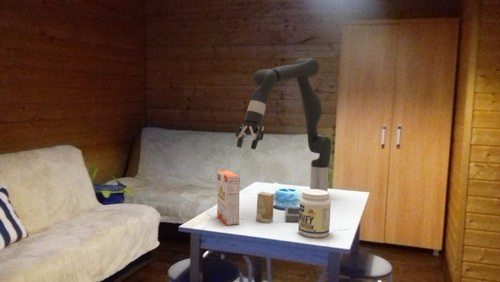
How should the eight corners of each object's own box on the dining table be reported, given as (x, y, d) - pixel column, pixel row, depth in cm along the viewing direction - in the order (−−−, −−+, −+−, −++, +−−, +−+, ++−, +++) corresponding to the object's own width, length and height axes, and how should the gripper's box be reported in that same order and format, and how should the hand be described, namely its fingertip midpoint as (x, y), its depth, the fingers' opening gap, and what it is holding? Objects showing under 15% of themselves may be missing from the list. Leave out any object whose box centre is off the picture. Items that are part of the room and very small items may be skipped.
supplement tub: (292, 232, 171) (293, 191, 169) (310, 226, 179) (312, 187, 178) (316, 240, 162) (318, 196, 160) (335, 234, 171) (337, 192, 169)
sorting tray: (285, 213, 198) (285, 207, 198) (313, 215, 197) (314, 208, 197) (285, 222, 185) (285, 215, 185) (316, 223, 184) (316, 216, 184)
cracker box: (216, 216, 191) (216, 170, 188) (229, 215, 193) (230, 169, 191) (225, 226, 178) (226, 176, 175) (239, 224, 180) (240, 175, 178)
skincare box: (255, 221, 186) (256, 193, 184) (260, 218, 190) (261, 191, 188) (269, 223, 183) (270, 195, 181) (273, 220, 187) (274, 193, 185)
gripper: (272, 116, 186) (263, 152, 184) (249, 115, 196) (239, 148, 194) (262, 110, 181) (251, 147, 178) (238, 109, 191) (228, 144, 188)
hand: (245, 148), depth 186 cm, fingers open, 8 cm apart
